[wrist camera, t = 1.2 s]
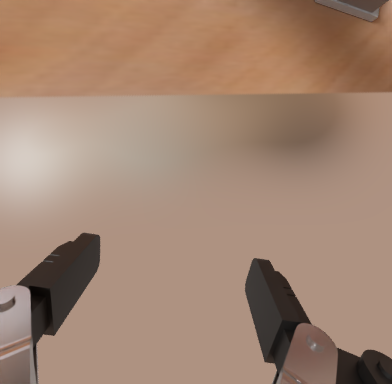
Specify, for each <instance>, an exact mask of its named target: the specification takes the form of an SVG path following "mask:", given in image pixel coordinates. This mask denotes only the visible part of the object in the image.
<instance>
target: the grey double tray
mask: <svg viewBox="0 0 392 384" xmlns="http://www.w3.org/2000/svg"><path fill="white" fill-rule="evenodd" d="M387 1H388V0H315V2H316V3H319V4H322V5H325V6H328V7H331V8H333V9H336V10H339V11H342V12H345V13H348V14H351V15H353V16H356V17H359V18H362V19H365V20H368V21H370V22H372V21H373V20H375V19H376V18H378V14H379V7H380V6H382V5H383V4H384V3H386V2H387Z"/></svg>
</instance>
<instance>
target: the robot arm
mask: <svg viewBox="0 0 392 384" xmlns="http://www.w3.org/2000/svg"><path fill="white" fill-rule="evenodd" d="M99 262H100V236H99V235H95V234H89V233H82V234H81V235H80V236H79V237H78V238H77V239H76V240H75V241H74V242H72V241H69V242H67V243H65V244H63V245H61V246H59V247H57V248H56V249H55V250H54V251H53V252H52V253H51V254H50V255H49V256H48V257H46V258H45V259H44V261H43V262H41V263H40V264H39V265H38V266H37V267H35V268H34V269H33V270H32V271H31V272H30V273H29V274H28V275H27V276H26V277H25V278H23V279H22V280H21V281H20V282H19V283H18V284H17V285H16V286H8V287H4V288H1V289H0V384H39V383H38V360H37V342H38V341H39V339H40V338H41V337H42V335H43V334H45V335H53V336H54V335H55V334H56V332H57V331H58V329H59V328H60V326H61V325H62V323H63V322H64V320H65V319H66V317H67V315H68V314H69V312H70V311H71V310H72V308H73V307H74V305H75V304H76V302H77V301H78V299H79V297H80V296H81V295H82V293H83V291H84V290H85V288H86V287H87V285H88V284H89V282H90V281H91V279H92V278H93V276H94V275H95V273H96V272H97V269H98V267H99ZM245 292H246V296H247V300H248V303H249V307H250V311H251V314H252V318H253V321H254V325H255V329H256V332H257V336H258V339H259V343H260V346H261V350H262V353H263V357H264V361H265V362H268V363H275V365H276V368H277V372H276V374H275V377H274V379H273V383H272V384H392V359H391V358H389V357H388V356H386V355H384V354H382V353H380V352H378V351H375V350H366V351H364V352H363V354H362V356H361V357H358V356H355V355H353V354H351V353H348V352H346V351H344V350H341V349H339V348H337V347H336V346H335V344H334V342H333V341H332V339H331V338H330V337H329V336H328V335H327V334H326V333H325V332H324V331H322V330H321V329H319V328H318V327H316V326H313V325H312V324H311V322H310V321H309V319H308V317H307V315H306V313H305V311H304V310H303V308H302V306H301V304H300V303H299V301H298V299H297V297H295V294H294V292H293V290H291V287H290V285H289V283H288V281H287V280H286V278H285V277H283V276H282V274H280V273H279V272H278V271H274V268H273V266H272V264H271V262H270V261H269V260H264V259H257V258H254V259H253V261H252V264H251V267H250V270H249V273H248V276H247V280H246V284H245Z"/></svg>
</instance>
